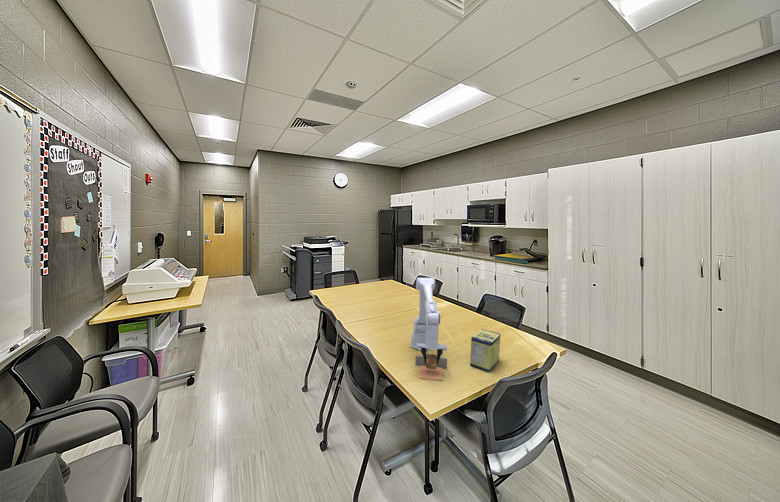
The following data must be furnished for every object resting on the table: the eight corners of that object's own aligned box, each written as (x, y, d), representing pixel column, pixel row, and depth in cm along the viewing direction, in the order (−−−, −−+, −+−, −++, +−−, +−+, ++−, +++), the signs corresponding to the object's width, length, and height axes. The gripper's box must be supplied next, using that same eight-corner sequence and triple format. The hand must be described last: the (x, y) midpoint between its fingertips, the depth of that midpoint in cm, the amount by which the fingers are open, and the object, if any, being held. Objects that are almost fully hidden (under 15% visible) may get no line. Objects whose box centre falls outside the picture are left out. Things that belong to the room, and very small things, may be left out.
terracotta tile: (419, 378, 134) (419, 377, 134) (420, 366, 145) (420, 365, 145) (442, 380, 133) (442, 379, 133) (441, 368, 144) (441, 367, 144)
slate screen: (415, 365, 147) (415, 356, 146) (415, 364, 148) (415, 355, 147) (446, 368, 144) (447, 359, 144) (446, 367, 145) (447, 357, 145)
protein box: (499, 361, 153) (501, 333, 151) (489, 373, 141) (491, 343, 139) (480, 355, 159) (481, 328, 157) (469, 366, 147) (470, 337, 145)
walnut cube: (425, 368, 137) (426, 358, 136) (426, 363, 141) (426, 353, 141) (436, 369, 136) (436, 359, 135) (436, 364, 141) (436, 354, 140)
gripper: (416, 338, 134) (415, 365, 136) (447, 341, 132) (446, 368, 133) (417, 332, 141) (416, 358, 142) (447, 335, 139) (445, 361, 140)
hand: (431, 363), depth 138 cm, fingers closed on walnut cube, 5 cm apart
